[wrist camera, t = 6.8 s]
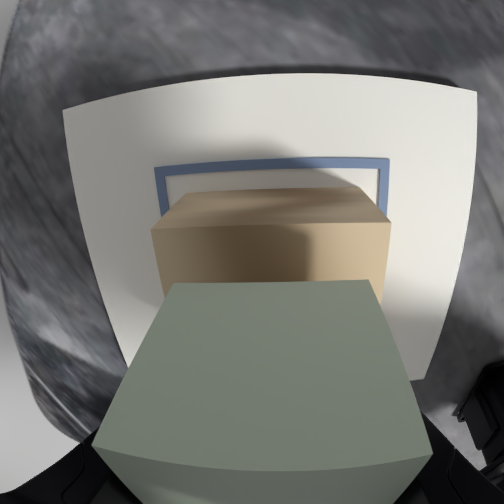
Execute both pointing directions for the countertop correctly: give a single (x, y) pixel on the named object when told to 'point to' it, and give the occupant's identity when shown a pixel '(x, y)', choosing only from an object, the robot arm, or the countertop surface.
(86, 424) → the countertop surface
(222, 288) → the sage block
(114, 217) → the white mat
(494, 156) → the countertop surface
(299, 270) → the maple block
